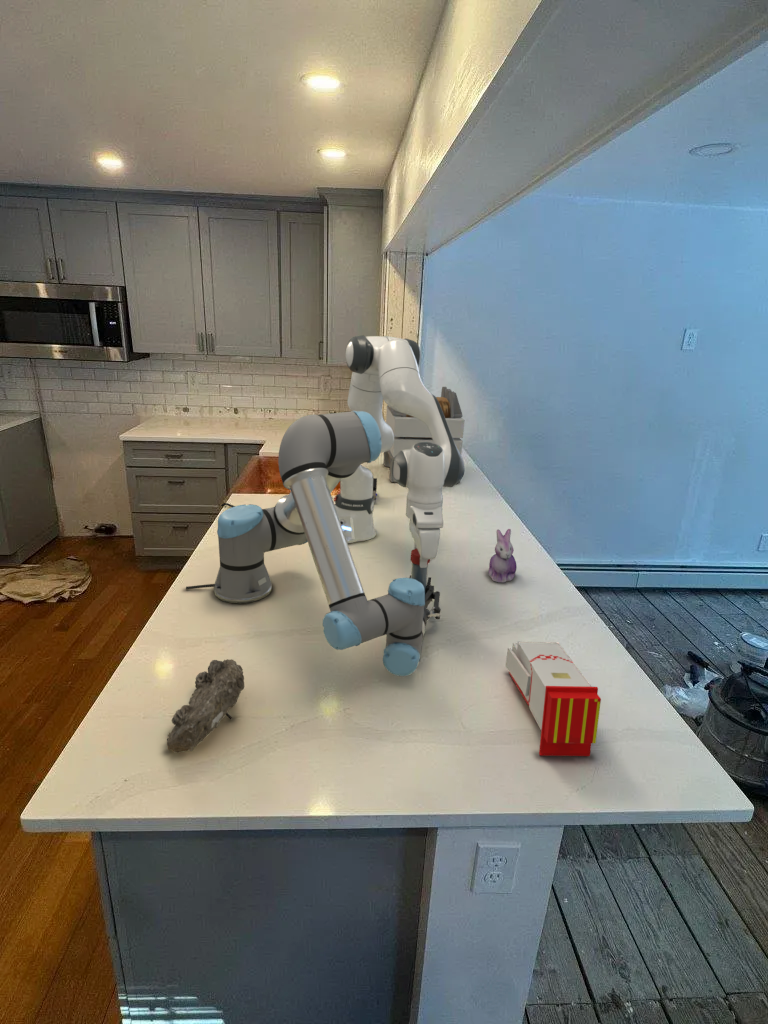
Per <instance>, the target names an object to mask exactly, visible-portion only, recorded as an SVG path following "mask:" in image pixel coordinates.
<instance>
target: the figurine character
mask: <svg viewBox="0 0 768 1024" xmlns="http://www.w3.org/2000/svg"><path fill="white" fill-rule="evenodd" d="M377 484H378V478H377V477H373V496H374V500H376V498H377V496H378V493H377V487H378V485H377Z"/></svg>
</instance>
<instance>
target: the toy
mask: <svg viewBox="0 0 768 1024" xmlns="http://www.w3.org/2000/svg"><path fill="white" fill-rule="evenodd" d="M511 646H512V647H508V648H507V653H506V658H505V659H506V660H505V668H506V669H507V671H508V675H509V676H510V677H511V679H512V681H513V682H514V684H515V686H516V688H517V689H518V691H519V693H520V694H521V696H522V698H523V700H524V702H525V703H526V705H527V706H528V708H529V710H530V712H531V715H532V716H533V718H534V720H535V722H536V723H537V724H536V725H537V726H538V727H539V730H540V731H541V733H540V739H539V740H540V741H539V749H538V751H539V752H538V754H539V756H543V757H548V756H550V757H551V756H552V757H553V756H554V757H568V756H569V757H591V751H592V744H596V743H597V734H598V726H599V717H600V710H601V702H602V698H601V697H600V696H599V694H598V693H599V688H598V686H592V684H590V682H589V681H588V680H587V678H586V677H585V676H584V675H583V673H582V672H581V671H580V669H579V668H578V667H577V665H576V664H575V663H574V661H573V660H572V659H571V658H570V656H569V655H568V654H567V652H566V651H565V649H564V647H562V645H561V644H560V643H559V642H553V641H551V642H549V641H548V642H547V641H546V642H545V641H517V642H512V645H511Z"/></svg>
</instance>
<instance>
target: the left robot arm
mask: <svg viewBox="0 0 768 1024" xmlns="http://www.w3.org/2000/svg"><path fill="white" fill-rule="evenodd" d="M381 446H382V442H381V434H380V430H379V427H378V424H377V422H376V421H375V419H374V418H373V417H372V415H370V414H369V413H367V412H364V411H351V410H350V411H342V412H332V413H321V414H308V415H305V416H302V417H300V418H298V419H296V420H295V421H293V422H292V423H291V424H290V425H289V426H288V428H287V430H286V431H285V432H284V434H283V435H282V439H281V441H280V445H279V450H278V458H277V460H278V461H277V463H278V471H279V477H280V479H281V482H282V485H283V488H285V489H287V490H289V491H290V492H289V493H288V494H285V495H283V496H281V497H280V498H279V499H278V501H277V502H276V504H275V505H274V506H272V507H267V508H262V507H261V506H260V505H257V504H251V503H250V504H239V505H234V506H235V507H229V508H227V509H225V510H224V511H222V513H220V515H219V516H218V517H217V518H218V519H217V531H216V533H217V538H218V540H217V541H218V556H219V569H218V572H217V575H216V578H215V583H208V584H199V585H198V584H197V585H189V586H186V587H185V590H196V589H203V588H205V589H206V588H214V589H213V591H214V596H215V597H216V598H217V599H219V600H221V601H223V602H225V603H231V604H248V603H249V604H250V603H254V602H257V601H260V600H263V599H264V598H266V597H268V596H269V594H271V592H272V590H273V587H272V586H273V584H272V579H271V577H270V574H269V572H268V570H267V569H268V568H267V567H266V564H265V553H267V552H272V551H276V550H277V551H278V550H281V549H285V548H290V547H294V546H301V545H305V544H308V548H309V550H310V554H311V557H312V559H313V562H314V565H315V568H316V571H317V574H318V577H319V581H320V584H321V587H322V589H323V592H324V595H325V598H326V601H327V604H328V607H329V608H328V609H329V612H328V613H326V614H325V615H324V617H323V619H322V627H323V631H322V632H323V635H324V637H325V640H326V641H327V643H328V644H329V646H330V647H331V648H332V649H335V650H337V651H338V650H339V651H343V650H346V649H349V648H352V647H358V646H360V645H362V644H363V643H366V642H369V641H372V640H374V639H377V638H380V637H382V636H385V635H386V637H385V638H386V639H385V641H386V642H385V647H384V649H383V655H382V663H383V667H384V668H385V669H386V671H388V672H389V673H390V674H392V675H394V676H397V677H408V676H410V675H411V674H414V672H416V670H417V668H418V666H419V663H420V662H421V653H422V648H423V642H424V636H425V632H426V628H427V622H428V621H429V620H430V618H434V619H435V620H440V619H441V613H442V611H441V609H442V608H441V607H440V598H441V592H440V591H437V590H436V591H435V585H432V577H430V576H427V586H426V594H425V589H424V586H423V584H422V583H420V582H418V581H417V580H415V579H412V578H411V574H410V575H409V577H398V578H394V579H392V581H391V582H390V583H389V585H388V589H387V594H384V595H381V596H378V597H374V598H372V599H368V598H367V596H366V593H365V590H364V587H363V585H362V584H363V583H362V582H361V579H360V576H359V573H358V570H357V566H356V564H355V561H354V558H353V555H352V552H351V550H350V549H351V548H350V547H349V543H347V540H346V537H345V535H344V532H343V529H342V526H341V523H340V520H339V517H338V514H337V511H336V508H335V505H334V504H335V501H334V498H333V496H332V492H333V491H334V490H335V488H336V487H337V486H338V484H339V483H340V480H341V479H344V478H348V477H350V476H351V475H353V473H354V472H355V471H356V470H357V468H358V467H359V466H360V465H362V464H364V463H365V464H366V463H367V464H371V463H372V462H375V461H376V460H377V459H379V457H380V455H381V453H380V452H381ZM432 602H433V607H432V609H431V610H429V609H428V606H429V605H430V604H431V603H432Z"/></svg>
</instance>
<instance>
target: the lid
mask: <svg viewBox="0 0 768 1024" xmlns="http://www.w3.org/2000/svg"><path fill="white" fill-rule="evenodd" d="M419 559H420V554H419V552H418V549H415V548H413V549H412V550H410V563H411V564H412V563H414V564H417V565H419ZM430 563H431V559H428V561H427V564H428V565H429V564H430Z"/></svg>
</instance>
